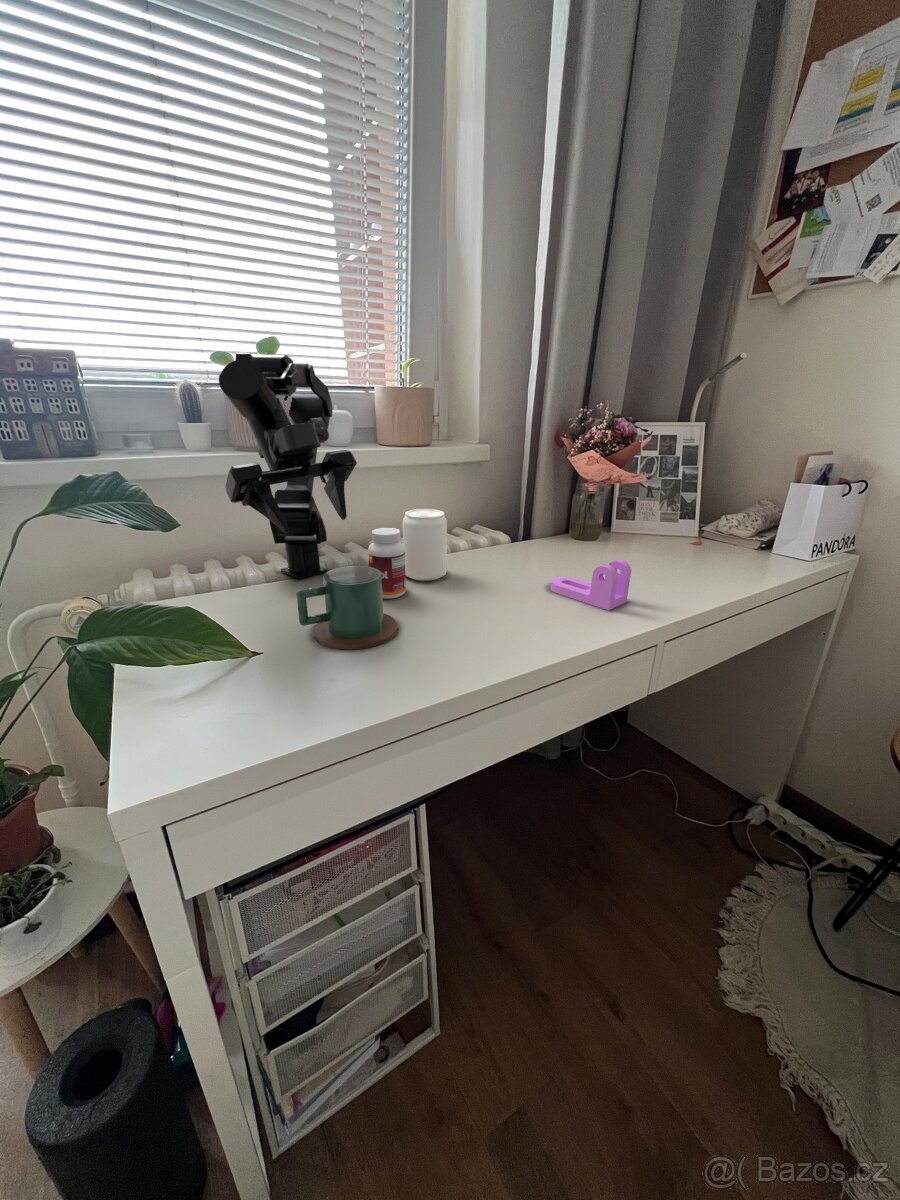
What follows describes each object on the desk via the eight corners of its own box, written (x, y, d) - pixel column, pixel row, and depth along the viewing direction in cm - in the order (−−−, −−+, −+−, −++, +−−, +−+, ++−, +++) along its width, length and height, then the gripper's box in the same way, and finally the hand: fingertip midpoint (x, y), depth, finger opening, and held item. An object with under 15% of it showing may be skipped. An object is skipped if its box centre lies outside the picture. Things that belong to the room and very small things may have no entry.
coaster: (297, 630, 73) (297, 627, 73) (363, 607, 81) (363, 604, 81) (347, 658, 65) (347, 654, 65) (414, 629, 74) (414, 626, 73)
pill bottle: (362, 593, 87) (358, 531, 83) (388, 584, 91) (386, 524, 87) (387, 602, 83) (384, 537, 79) (413, 592, 87) (412, 530, 83)
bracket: (626, 601, 85) (632, 562, 82) (608, 610, 81) (614, 569, 78) (562, 581, 93) (566, 545, 91) (544, 588, 90) (547, 551, 87)
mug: (372, 611, 78) (369, 562, 75) (392, 631, 72) (390, 578, 69) (294, 627, 73) (288, 574, 70) (308, 650, 66) (302, 593, 63)
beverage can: (448, 569, 99) (449, 509, 95) (443, 583, 92) (444, 518, 87) (407, 567, 100) (406, 507, 95) (400, 581, 93) (398, 517, 88)
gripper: (216, 403, 63) (265, 511, 62) (346, 394, 74) (391, 485, 72) (207, 453, 72) (250, 549, 71) (324, 439, 83) (364, 521, 81)
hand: (317, 525), depth 74 cm, fingers open, 9 cm apart
